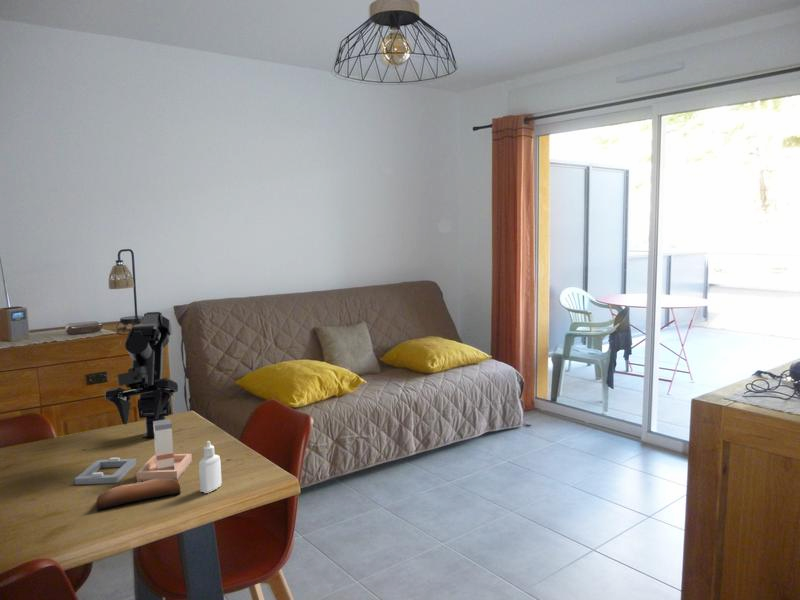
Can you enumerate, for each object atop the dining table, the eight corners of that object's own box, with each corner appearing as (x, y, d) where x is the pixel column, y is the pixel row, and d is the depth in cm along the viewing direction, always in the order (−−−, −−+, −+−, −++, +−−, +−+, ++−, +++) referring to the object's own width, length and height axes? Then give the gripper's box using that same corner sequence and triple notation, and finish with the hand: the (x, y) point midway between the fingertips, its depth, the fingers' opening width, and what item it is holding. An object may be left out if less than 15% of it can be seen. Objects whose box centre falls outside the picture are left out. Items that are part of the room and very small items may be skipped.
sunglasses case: (176, 481, 147) (177, 464, 143) (180, 504, 142) (181, 487, 138) (96, 497, 139) (94, 479, 135) (97, 522, 134) (95, 504, 130)
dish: (154, 463, 159) (153, 454, 159) (191, 462, 159) (191, 453, 159) (137, 481, 147) (136, 472, 147) (177, 480, 147) (176, 471, 147)
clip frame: (97, 465, 158) (97, 457, 158) (136, 463, 159) (135, 455, 159) (75, 484, 146) (74, 475, 146) (116, 482, 147) (116, 474, 146)
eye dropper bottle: (225, 489, 142) (223, 441, 141) (202, 495, 139) (199, 446, 137) (219, 483, 145) (216, 436, 144) (196, 489, 142) (193, 441, 141)
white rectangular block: (156, 467, 154) (152, 421, 153) (172, 464, 156) (169, 418, 155) (157, 473, 150) (154, 426, 149) (174, 470, 152) (171, 423, 151)
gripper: (94, 364, 159) (89, 421, 153) (157, 351, 157) (155, 408, 151) (119, 376, 169) (115, 429, 163) (179, 363, 167) (178, 417, 161)
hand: (140, 421), depth 159 cm, fingers open, 9 cm apart
